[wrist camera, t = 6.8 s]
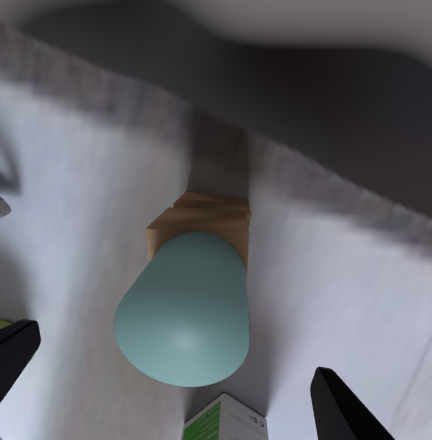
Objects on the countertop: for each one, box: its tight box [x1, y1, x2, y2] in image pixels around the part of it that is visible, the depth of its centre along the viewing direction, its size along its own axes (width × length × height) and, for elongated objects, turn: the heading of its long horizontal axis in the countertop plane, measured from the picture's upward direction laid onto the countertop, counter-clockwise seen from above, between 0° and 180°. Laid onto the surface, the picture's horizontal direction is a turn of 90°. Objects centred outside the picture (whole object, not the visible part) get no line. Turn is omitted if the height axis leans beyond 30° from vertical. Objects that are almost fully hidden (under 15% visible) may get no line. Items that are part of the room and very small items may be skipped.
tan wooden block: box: [145, 208, 249, 284], centre depth 14 cm, size 5×5×4 cm
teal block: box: [114, 231, 250, 387], centre depth 10 cm, size 5×5×4 cm
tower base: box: [174, 191, 251, 228], centre depth 18 cm, size 5×5×4 cm
